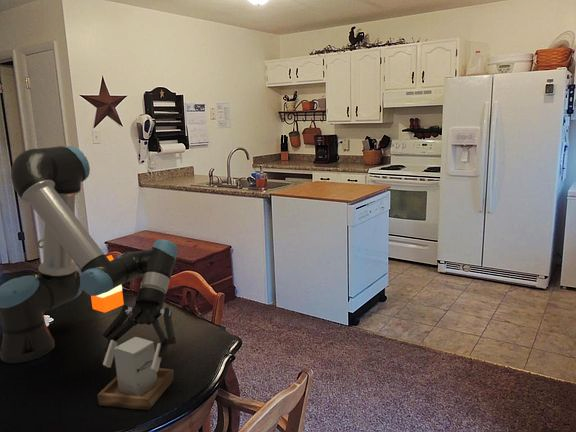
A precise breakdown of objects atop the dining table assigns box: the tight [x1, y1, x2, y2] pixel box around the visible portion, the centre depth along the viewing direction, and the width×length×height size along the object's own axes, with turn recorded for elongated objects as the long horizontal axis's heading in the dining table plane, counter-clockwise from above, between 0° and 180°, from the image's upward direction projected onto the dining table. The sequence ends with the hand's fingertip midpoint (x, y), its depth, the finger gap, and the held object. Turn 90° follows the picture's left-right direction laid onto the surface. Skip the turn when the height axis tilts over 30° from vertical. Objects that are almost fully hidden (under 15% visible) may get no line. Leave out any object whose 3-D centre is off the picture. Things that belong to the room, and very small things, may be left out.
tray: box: [97, 367, 175, 411], centre depth 121 cm, size 14×14×3 cm
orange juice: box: [90, 254, 125, 314], centre depth 177 cm, size 8×9×20 cm
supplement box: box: [114, 336, 158, 396], centre depth 120 cm, size 7×7×13 cm
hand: (130, 368), depth 118 cm, fingers open, 13 cm apart
